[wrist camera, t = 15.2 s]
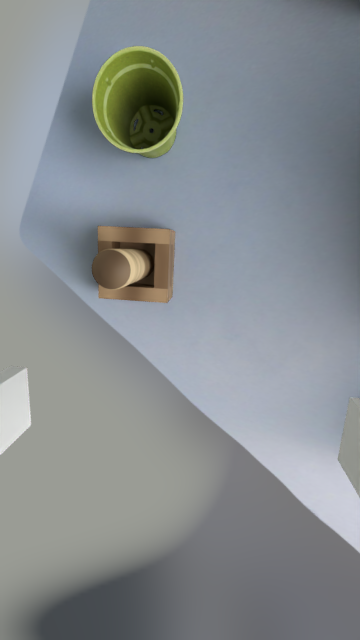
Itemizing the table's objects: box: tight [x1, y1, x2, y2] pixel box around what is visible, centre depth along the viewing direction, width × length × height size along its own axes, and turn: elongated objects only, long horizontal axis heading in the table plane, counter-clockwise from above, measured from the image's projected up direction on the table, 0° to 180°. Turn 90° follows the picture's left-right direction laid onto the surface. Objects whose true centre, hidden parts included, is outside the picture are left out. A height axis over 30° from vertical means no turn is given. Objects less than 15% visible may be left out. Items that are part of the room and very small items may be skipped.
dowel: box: [92, 249, 154, 290], centre depth 36 cm, size 4×4×12 cm
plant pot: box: [92, 46, 183, 158], centre depth 35 cm, size 9×9×9 cm
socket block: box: [98, 226, 175, 303], centre depth 41 cm, size 9×9×5 cm
